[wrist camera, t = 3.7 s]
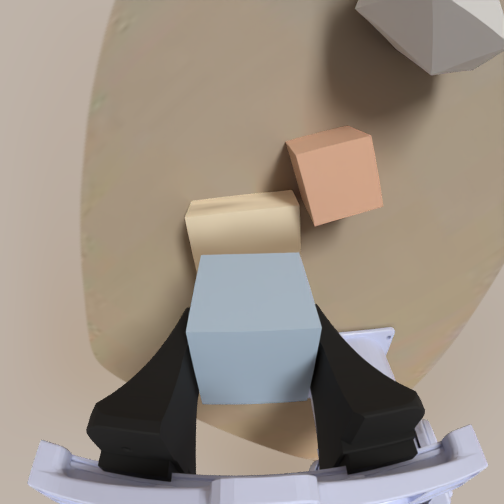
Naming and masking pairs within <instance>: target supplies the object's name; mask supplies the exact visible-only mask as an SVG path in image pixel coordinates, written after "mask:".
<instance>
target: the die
mask: <svg viewBox="0 0 504 504" xmlns="http://www.w3.org/2000/svg"><path fill="white" fill-rule="evenodd" d="M355 9H356V10H357V11H358V12H359V13H360V14H361V15H362V16H363V17H364V18H365V19H367V20H368V21H369V22H370V23H371V24H372V25H373V26H374V27H375V28H376V29H377V30H378V31H379V32H380V33H381V34H382V35H383V36H384V37H385V38H386V39H387V40H388V41H389V42H390V43H391V44H392V45H393V46H394V48H395V49H396V50H398V51H399V52H400V53H402V54H403V55H405V56H406V57H407V58H409V59H410V60H412V61H413V62H414V63H416V64H417V65H418V66H420V67H421V68H422V69H424V70H425V71H426V72H427V73H429V74H430V75H438V74H445V73H452V72H460V71H468V70H474V69H476V68H477V67H479V66H480V65H482V64H484V63H485V62H487V61H488V60H490V59H492V58H493V57H495V56H496V55H498V54H500V53H501V52H503V51H504V14H503V11H502V8H501V5H500V2H499V0H358V2H357V4H356V7H355Z"/></svg>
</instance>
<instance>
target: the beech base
mask: <svg viewBox="0 0 504 504" xmlns="http://www.w3.org/2000/svg"><path fill="white" fill-rule="evenodd" d="M185 221H186V226H187V231H188V236H189V240H190V245H191V249H192V254H193V258H194V263H195V267H196V272H198V267H199V262H200V258H201V255H221V254H260V253H297V252H299V254H300V257H301V235H300V208H299V204H298V201H297V199H296V197H295V195H294V193H293V191H292V190H287V191H276V192H266V193H256V194H246V195H237V196H228V197H220V198H211V199H203V200H195V201H191V204H190V206H189V209H188V211H187V214H186V216H185Z"/></svg>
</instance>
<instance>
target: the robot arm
mask: <svg viewBox="0 0 504 504" xmlns="http://www.w3.org/2000/svg"><path fill="white" fill-rule="evenodd" d="M315 306H316V309H317V313H318V316H319V320H320V323H321V327H322V330H321V335H320V340H319V346H318V351H317V356H316V361H315V366H314V371H313V376H312V380H311V385H310V389H309V394H308V398H310V399H311V405H312V410H313V416H314V421H315V427H316V433H317V440H318V449H317V451H318V457H319V460H316V461H314V462H313V463H312V465H311V466H310V469H309V471H308V472H298V473H286V474H272V475H249V476H220V475H219V476H217V475H196V415H197V401H198V394H199V388H198V384H197V380H196V375H195V371H194V367H193V363H192V358H191V354H190V349H189V345H188V340H187V335H186V328H187V323H188V317H189V312H190V308H186V309H185V311H184V313H183V315H182V316H181V318H180V320H179V322H178V323H177V325H176V326H175V328H174V329H173V331H172V332H171V334H170V335H169V337H168V338H167V340H166V341H165V342H164V344H163V345H162V346H161V348H160V349H159V350H158V352H157V353H156V354H155V355H154V356H153V358H152V359H151V360H150V361H149V362H148V363H147V364H146V365H145V366H144V367H143V368H142V369H141V370H140V371H139V372H138V373H137V374H136V375H135V376H134V377H133V378H132V379H130V380H129V381H128V382H127V383H126V384H124V385H123V386H122V387H121V388H119V389H118V390H117V391H115V392H114V393H112V394H111V395H109V396H107V397H106V398H104V399H103V400H101V401H99V402H97V403H96V405H95V407H94V409H93V411H92V413H91V416H90V419H89V423H88V426H87V429H86V430H87V434H88V436H89V437H90V439H91V440H92V441H93V442H94V443H95V444H96V445H97V446H98V447H99V448H100V449H101V454H100V458H99V461H95V460H91V459H87V458H82V457H79V456H75V455H72V454H71V453H70V451H69V450H68V449H66V448H65V447H63V446H60V445H57V444H54V443H51V442H47V441H44V440H41V441H40V444H39V447H38V450H37V453H36V457H35V459H34V463H33V466H32V469H31V472H30V476H29V479H28V485H29V486H31V487H32V488H34V489H35V490H37V491H38V492H40V493H41V494H43V495H45V496H46V497H48V498H50V499H51V500H53V501H55V502H57V503H59V504H450V503H451V497H452V495H453V492H452V490H454V489H456V488H458V487H460V486H461V485H463V484H465V483H466V482H467V481H469V480H470V479H472V478H473V477H475V476H476V475H477V474H479V473H480V472H481V471H483V470H484V469H485V468H486V467H487V466H488V464H487V461H486V458H485V456H484V453H483V451H482V448H481V446H480V444H479V441H478V439H477V437H476V434H475V432H474V430H473V427H472V425H470V424H469V425H467V426H464V427H461V428H459V429H456V430H454V431H451V432H450V433H448V434H447V435H446V436H445V437H444V438H443V439H442V441H440V442H437V440H436V437H435V435H434V432H433V430H432V428H431V425H430V423H429V421H428V420H425V419H422V418H423V416H424V414H425V409H424V407H423V405H422V402H421V400H420V398H419V396H418V395H417V393H416V391H414V390H412V389H410V388H408V387H405V386H403V385H401V384H399V383H398V382H396V380H395V378H394V375H393V373H392V370H391V368H390V366H389V363H388V361H387V358H386V354H387V351H388V349H389V346H390V344H391V341H392V339H393V336H394V333H395V331H394V329H393V328H392V327H387V328H379V329H370V330H360V331H350V332H339V333H338V332H337V330H336V329H335V328H334V327H333V325H332V324H331V323H330V322H329V320H328V319H327V318H326V316H325V315H324V314H323V312H322V311H321V309H320V308H319V306H318V305H317V304H315Z"/></svg>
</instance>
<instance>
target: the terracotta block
mask: <svg viewBox="0 0 504 504" xmlns="http://www.w3.org/2000/svg"><path fill="white" fill-rule="evenodd" d="M286 146H287V149H288V152H289V156H290V159H291V162H292V166H293V169H294V173H295V176H296V180H297V183H298V187H299V190H300V194H301V198H302V201H303V203H304V205H305V207H306V209H307V211H308V213H309V215H310V217H311V219H312V221H313V223H314V226H318V225H321V224H325V223H328V222H332V221H335V220H338V219H342V218H345V217H349V216H352V215H356V214H359V213H362V212H366V211H369V210H373V209H376V208H380V207H383V201H382V194H381V187H380V181H379V175H378V169H377V163H376V158H375V152H374V147H373V142H372V137H371V135H369V134H366V133H364V132H362V131H359V130H357V129H355V128H352V127H350V126H343V127H339V128H334V129H330V130H326V131H323V132H319V133H315V134H311V135H307V136H304V137H300V138H296V139H293V140H289V141H286Z"/></svg>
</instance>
